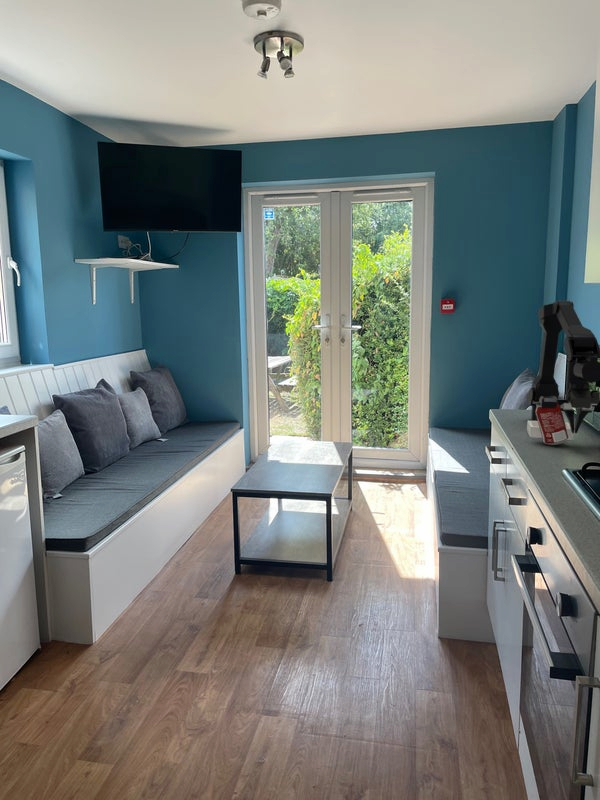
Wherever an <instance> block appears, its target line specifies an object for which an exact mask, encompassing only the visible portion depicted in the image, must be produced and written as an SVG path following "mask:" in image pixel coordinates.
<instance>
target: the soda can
mask: <svg viewBox="0 0 600 800" xmlns="http://www.w3.org/2000/svg"><path fill="white" fill-rule="evenodd" d="M536 406H537V408H536V410H535V412H536V416H537V420H538V424H539V427H540V431H541V435H542V438H541V439H542V442H543V444H544V445H547V446H558V445H561V444H564V443H566V441H568V440H567V439H568V434H567V430H566V426H565V418H564V415H563V411H562V410H561V406H560V405H559V404H558V403H557V406H556V407H555V408H541V407H542V406H540V402H539V403H537V404H536Z"/></svg>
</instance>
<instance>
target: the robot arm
mask: <svg viewBox="0 0 600 800" xmlns="http://www.w3.org/2000/svg"><path fill="white" fill-rule="evenodd" d="M574 306H575V305H574V302H573V301H571V300H556V301H554V302H552V303H549V304H543V305H542V306H541V307H539V309H538V313H537V314H538V315H537V317H538V320H539V321H538V324H539V325H540V327H541V329H542V331H543V332H542V333H543V335H542V343H541V349H540V350H541V351H540V357H539V358H540V361H539V366H538V367H539V369H538V374H537V376H536V377H535V378H534V379H533V380H532V382H531V387H530V388H529V390H528V393H527V395H526V405H528V406H529V407H531V415H530V418H529V419H528V421H538V420H537V416H536V412H535V410H536V408H537V406H536V404H537V403H539V402H540V406H542V407H541V408H555V407H556V406H557V403H558V404H559V405H560V406H561V410H562V413H563V412H564V414H565V416H566V418H567V421H568V422H569V425H570V428H571V432H572V433H574V434H578V431H579V429H580V427H581V425H582V423H583V421H584V420H585V418H586V416H587V415H588V414H589V413H590V414H592V413H593V410H592V408H593V407H594V408H598V407H599V408H600V390H598V389H595V390H593V389H592V390H591V389H590V383H597V382H599V381H600V361H598V359H600V345H599V342H598V339H597V337H596V335H595V334H594V332H593V331H592V330H591V329H589V328H588V327H585V326H583V324H582V321H581V320H580V318H579V316H578V314H577V312H576V310H575V307H574ZM562 331H563V332H564V334H565V338H564V339H563V340H564V341H563V347H564V350H565V353H566V355H567V357H566V360H567V370H566V383H565V385H566V386H565V398H559V397H560V394H561V393H560V392H559V391H560V390H559V387H560V386H559V385H558V382H557V381H556V379H555V369H556V363H557V354H558V353H557V352H558V348H559V347H558V346H559V338H560V333H561V332H562ZM575 409H576V414H575Z"/></svg>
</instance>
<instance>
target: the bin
mask: <svg viewBox="0 0 600 800" xmlns="http://www.w3.org/2000/svg"><path fill="white" fill-rule="evenodd" d="M564 422H565V421H564ZM526 425H527V426H526V432H527V433H528V436H529V437H530V438H538V439H542V435H541V431H540V427H539V424H538V421H529V420H527V423H526ZM565 426H566V430H567V434H568V439H567V440H566V441H571V442H572V441H574V435H575V432H574V433H572V432H571V428H570V425H569V422H567V421H566V422H565Z"/></svg>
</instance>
